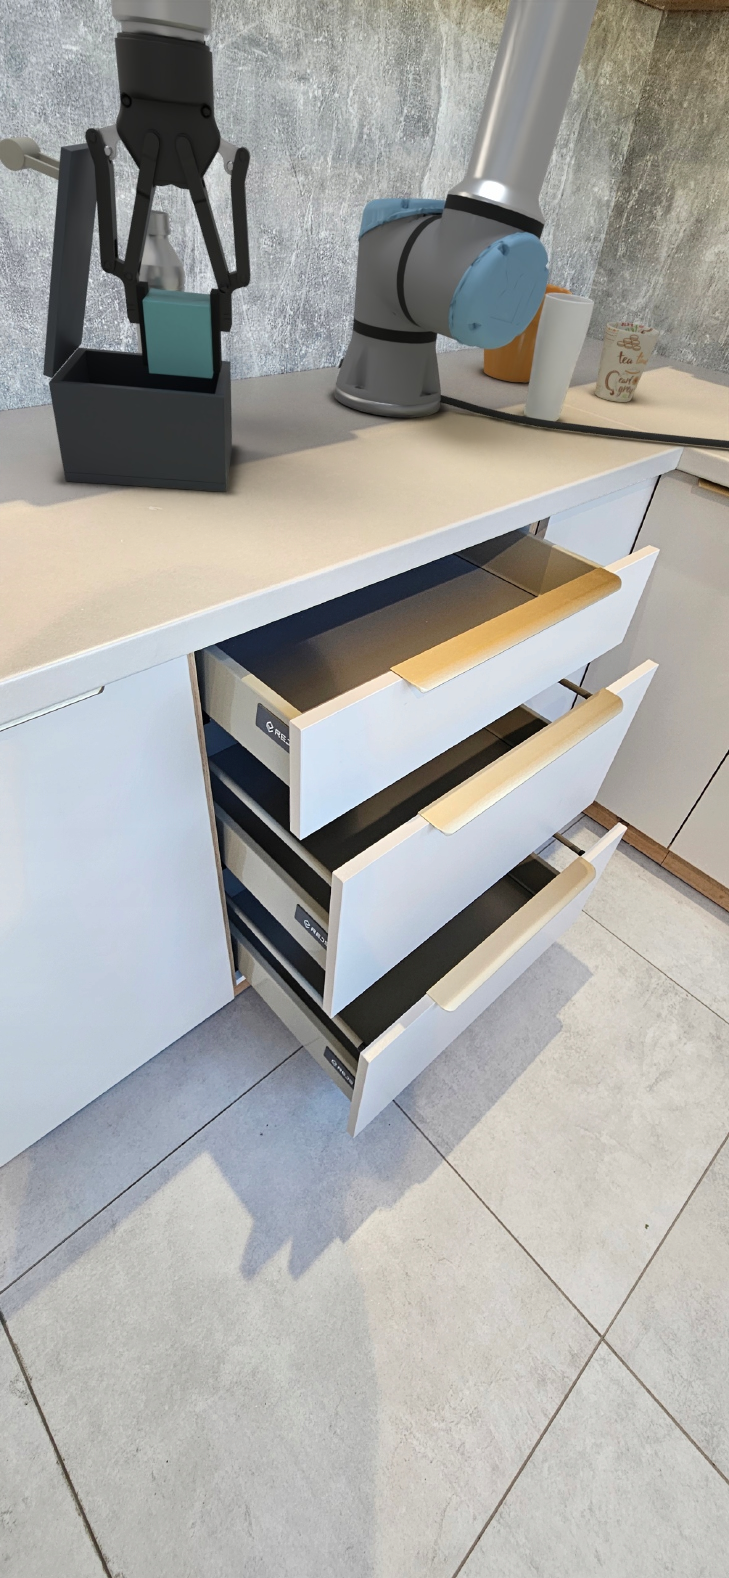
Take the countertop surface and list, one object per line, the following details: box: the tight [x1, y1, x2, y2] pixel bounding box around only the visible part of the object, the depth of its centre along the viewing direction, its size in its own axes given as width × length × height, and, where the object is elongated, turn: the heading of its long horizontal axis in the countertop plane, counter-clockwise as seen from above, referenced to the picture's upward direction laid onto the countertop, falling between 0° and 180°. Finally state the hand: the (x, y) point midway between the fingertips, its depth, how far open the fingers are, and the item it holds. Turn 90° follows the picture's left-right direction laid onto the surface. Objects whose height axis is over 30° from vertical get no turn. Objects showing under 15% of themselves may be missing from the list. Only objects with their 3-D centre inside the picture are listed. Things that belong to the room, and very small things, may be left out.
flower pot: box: [483, 283, 573, 383], centre depth 121 cm, size 14×14×13 cm
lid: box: [0, 136, 97, 379], centre depth 66 cm, size 17×14×6 cm
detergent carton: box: [143, 289, 213, 378], centre depth 71 cm, size 6×6×6 cm
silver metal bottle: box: [135, 209, 186, 353], centre depth 85 cm, size 6×7×20 cm
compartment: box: [48, 347, 233, 493], centre depth 76 cm, size 16×14×9 cm
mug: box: [594, 321, 660, 403], centre depth 120 cm, size 8×13×10 cm, turn 158°
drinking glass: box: [523, 293, 595, 422], centre depth 103 cm, size 7×7×15 cm
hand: (183, 365), depth 73 cm, fingers closed on detergent carton, 6 cm apart
